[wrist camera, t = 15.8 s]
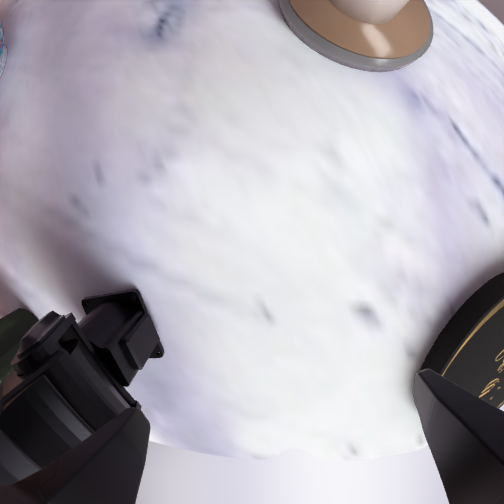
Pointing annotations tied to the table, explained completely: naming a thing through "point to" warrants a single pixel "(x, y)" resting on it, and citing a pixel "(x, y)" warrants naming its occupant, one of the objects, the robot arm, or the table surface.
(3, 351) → the potion bottle
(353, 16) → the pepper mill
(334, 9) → the display plinth
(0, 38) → the chinaware
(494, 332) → the decorative sign
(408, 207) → the table surface
